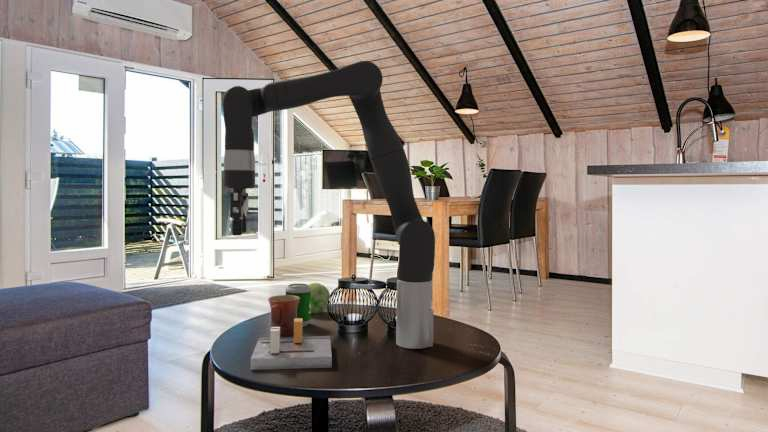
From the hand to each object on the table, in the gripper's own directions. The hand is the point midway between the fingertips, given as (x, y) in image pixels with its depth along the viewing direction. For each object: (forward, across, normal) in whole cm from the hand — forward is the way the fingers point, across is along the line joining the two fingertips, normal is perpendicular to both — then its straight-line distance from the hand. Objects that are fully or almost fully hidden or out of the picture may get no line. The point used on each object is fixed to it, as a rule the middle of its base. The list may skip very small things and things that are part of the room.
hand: (239, 233), depth 130 cm
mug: (+29, +11, -10) cm, 33 cm away
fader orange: (+26, -4, -15) cm, 30 cm away
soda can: (+29, +23, -14) cm, 40 cm away
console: (+29, -8, -14) cm, 33 cm away
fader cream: (+26, -12, -10) cm, 30 cm away
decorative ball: (+29, +38, -19) cm, 52 cm away
